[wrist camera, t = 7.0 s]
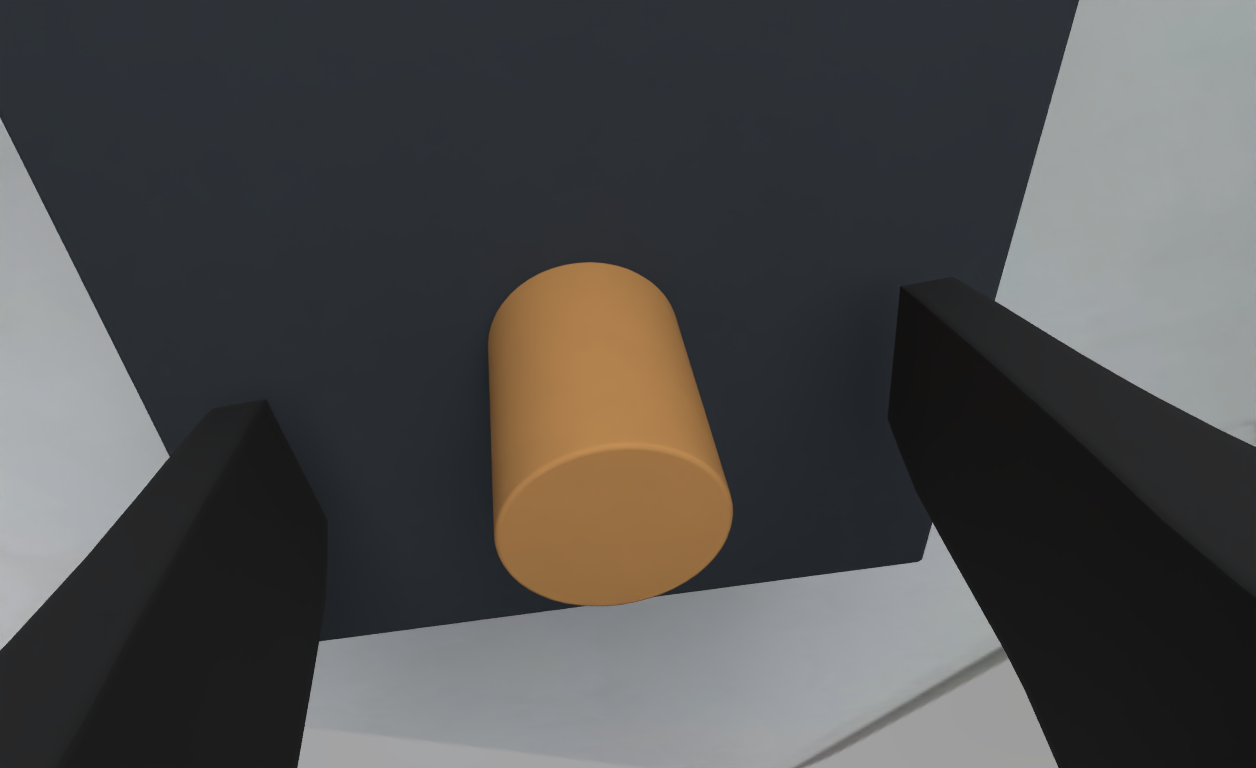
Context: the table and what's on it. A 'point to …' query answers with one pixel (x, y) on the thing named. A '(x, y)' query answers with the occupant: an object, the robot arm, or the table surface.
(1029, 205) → the table surface
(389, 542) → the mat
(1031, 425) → the robot arm
